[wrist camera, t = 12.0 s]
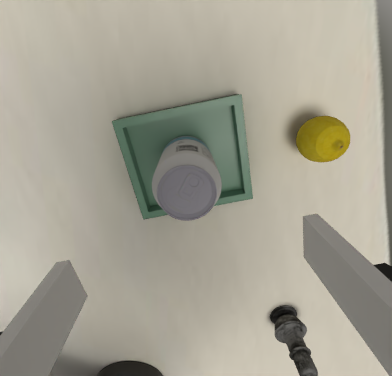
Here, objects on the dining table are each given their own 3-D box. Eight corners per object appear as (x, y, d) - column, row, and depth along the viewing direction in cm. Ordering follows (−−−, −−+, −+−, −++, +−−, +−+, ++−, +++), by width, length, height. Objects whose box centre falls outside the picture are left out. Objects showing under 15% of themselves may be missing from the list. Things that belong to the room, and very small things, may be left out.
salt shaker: (278, 300, 44) (309, 370, 33) (303, 309, 45) (342, 379, 34) (262, 321, 46) (287, 393, 35) (287, 328, 47) (318, 400, 36)
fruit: (311, 104, 31) (350, 108, 23) (333, 134, 32) (377, 146, 25) (278, 134, 32) (305, 147, 25) (301, 161, 34) (333, 180, 26)
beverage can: (153, 167, 33) (136, 206, 22) (177, 124, 31) (172, 142, 19) (194, 190, 34) (198, 237, 23) (220, 151, 32) (239, 182, 21)
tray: (146, 211, 36) (143, 219, 34) (117, 119, 31) (111, 121, 28) (248, 191, 35) (252, 198, 33) (237, 94, 30) (241, 94, 28)
